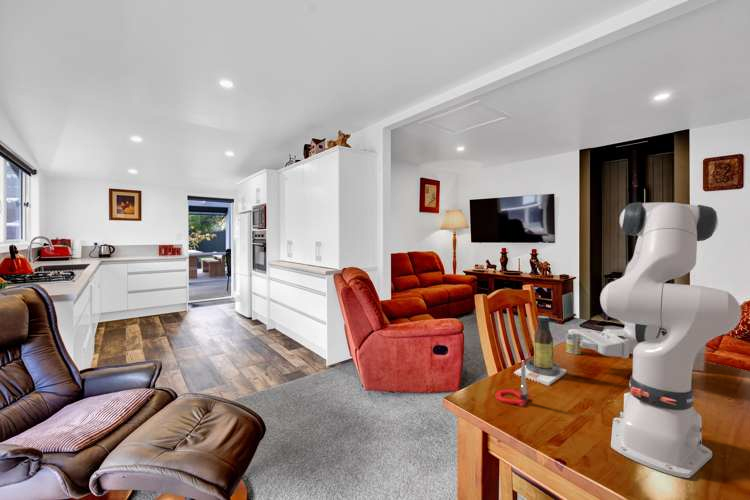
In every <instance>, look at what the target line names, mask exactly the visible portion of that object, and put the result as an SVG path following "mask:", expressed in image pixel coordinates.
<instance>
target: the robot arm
mask: <svg viewBox="0 0 750 500" xmlns="http://www.w3.org/2000/svg"><path fill="white" fill-rule="evenodd" d="M718 225H719V218H718V215H717V211H716V209H714V208H713V207H711V206H707V205H703V204H697V205H693V204H686V203H680V202H679V203H678V202H668V201H667V202H661V201H660V202H659V201H658V202H655V201H654V202H641V201H639V202H637V201H636V202H632V203H629V204H627V205H626V206H625V207H624V209H623V210H622V212H621V213H620V216H619V226H620V228H621V231H622V232H623V233H624V234H626V235H628V236H634V237H636V236H637V239H636V244H635V247H634V251H633V256H632V258H631V259H630V260H629V261H628V262H627V264H626V265H625V267H624V269H623V271H622V275H621V277H620V278H618V279H616V280H613V281H611V282H609V283H606V285H605V286H604V288H603V289H602V290H601V292H600V296H599V301H600V302H599V303H600V306H601V309H602V311H603V312H604V313H605V314H606V316H608V317H609V318H611V319H615V320H617V321H618V322H620V323H621V324H623V325H624V327H623V328H624V329H605V330H604V329H603V330H602V332H598V331H596V330H593V329H585V328H575V329H574V330H573V333H572V334H569V333H567V334H566V335H565V339H566V338H567V339H568V340H573V339H576V340H578V341H580V343H579V344H580V345H579V346H580V347H581V348H582V349H588V350H593V351H595V352H597V353H599V354H601V355H602V356H605V357H606V356H607V357H617V358H623V359H629V357H630V354H632V374H631V375H630V379H629V382H628V385H629V387H628V388H629V389H628V392H626V393H623V394H624V395H623V411H619V415H618V416H619V417H614V418H613V420H612V426H611V427H612V428H611V437H610V438H611V440H610V447H611V448H612V449H613V450H614V451H616V452H617V453H619V454H621V455H622V456H623V457H626V458H628V459H630V460H632V461H633V462H636V463H638V464H641V465H644V466H646V467H648V468H652V469H654V470H657V471H659V472H661V473H665V474H668V475H671V476H675V477H679V478H685V479H689V478H692V477H693V475H695V474H696V473H697V472H698V471H699V470H700V469H702V467H703V466H704V465H705V464H706V463H707V462H708V461H709V460H710V459H712V458H713V451H712V450H711V449H709V448H708V447H707V446H705V445H704V444H702V443H703V442H702V438H703V436H702V430H703V429H702V428H703V426H702V416H701V415H700V414H699V413H698V412H697V410H695V409H694V407H693V406H694V400H695V394H694V388H692V380H693V379H692V376H693V371H694V370H693V364H694V360H695V357H696V355H697V353H698V352H699V350H700V349H701V348H702V347H703V346H704V345H705V344H706V345H707V343H709V342H710V341H712V340H713V339H716V338H718V337H720V336H723V335H725V334H727V333H730V332H731V331H734V329H736V328H737V326H738V325H739V323H740V321H741V319H742V308H741V306H740V303H739V302H738V300H737V298H735V296H734V295H732V294H731V293H730V292H728V291H726V290H721V289H718V288H713V287H708V286H704V285H693V284H692V285H691V284H682V283H681V284H679V283H667V281H670V280H673V279H677V278H680V277H681V278H682V277H683V276H685V275H687V274H688V273H690V272H691V271H692V270H694V268H695V267H696V264H697V252H698V251H697V250H698V248H697V247H698V242H703V241H706V240H708V239H710V238H711V237H712V236H713V234H714V233H715V232H716V230H717V229H718ZM662 329H664V330H665V331H666V333H665V334H664V335H663V333H662Z"/></svg>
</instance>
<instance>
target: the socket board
mask: <svg viewBox="0 0 750 500" xmlns="http://www.w3.org/2000/svg"><path fill="white" fill-rule="evenodd" d="M524 365H525V373H526V379H527V378H528V379H527V380H530V379H531V380H530V381H533V380H534V381H533V382H536V381H537V383H539V382H540V384H543V385H545V386H550V385H551V384H553V383H554V382H556V381H557V380H559V379H560V378H561V377H562V376H564V375H565V374H567V369H564V368H561V367H560V365H559V364H558V363H557V362H554V361H553V369H543V368H538V367H535V365H534V358H528V359H527V360H526V363H525V364H524ZM514 374H516V375H515V376H517V375H518V377H520V376H521V367H520V368H518V369H516V370H515V371H514V372H513V375H514Z"/></svg>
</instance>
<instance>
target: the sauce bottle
mask: <svg viewBox="0 0 750 500" xmlns="http://www.w3.org/2000/svg"><path fill="white" fill-rule="evenodd" d="M536 320H537V329H536V331H535V332H534V341H533V347H534V348H533V353H534V357H533V359H534V365H535V367H538V368H543V369H553V362H554V338H553V335H552V332H551V330H550V317H549V316H546V315H538V316H537V317H536Z"/></svg>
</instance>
